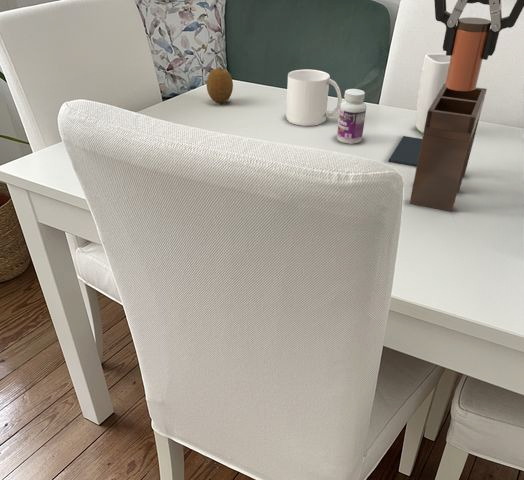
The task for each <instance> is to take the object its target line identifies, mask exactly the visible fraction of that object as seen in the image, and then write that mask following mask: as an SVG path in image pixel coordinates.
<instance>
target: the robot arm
mask: <svg viewBox="0 0 524 480" xmlns="http://www.w3.org/2000/svg"><path fill="white" fill-rule="evenodd" d="M478 3H479V4H482V5H486V6H489V14H490V21H491V27H490V30H489V32H488V37H487V41H486V45H485V49H484V54H483V58H482V59H483V60H484V61H488V59H489V57H492V56H493V55H494V53H495V51H496V47H497V44H498V40H499V36H500V32H501V31H503V30H505V29H508V28H509V29H512V28H513V27H514V26H515V24H516V22H517V21H518V19H519V17H520V15H521V13H522V12H523V9H524V0H516V1H515V3H514V5H513V8H512V9H511V11H510V13H509V15H508V16H504V17H503V15H502V14H503V13H502V0H457V1H456V3H455V4H454V7H453V9H452V11H451V12H449V11H447V0H434V17H435V20H436V21H437V22H440V23H442V24H444V26H445V33H444V38H443V43H442V51H443V52H445V53H446V55H447V56H451V53H452V49H453V44H454V39H455V34H456V29H457V22H458V19H460V18H461V15H462V13H463V12H464V10H465V8H466V7H467V4H478Z"/></svg>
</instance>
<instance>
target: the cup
mask: <svg viewBox="0 0 524 480" xmlns="http://www.w3.org/2000/svg"><path fill="white" fill-rule="evenodd" d="M450 58H451V56H447V55H446V52H441V53H440V52H434V53H433V52H432V53H431V52H430V53H426V54H425V55H424V58H423V63H422V69H421V72H420V78H419V79H420V80H419V86H418V94H417V102H416V114H415V127H416V129H417V130H418V131H419V132H420V133H421V134H422V135H423V133H424V128H425V123H426V118H427V113H428V110H429V108H430V106H431V105H432V103H433V101H434V100H435V98H436V96H437V95H438V93H439V91H440V90H441V88H442V86H443V85H444V83H446V78H447V73H448V68H449V63H450Z"/></svg>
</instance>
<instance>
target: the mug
mask: <svg viewBox="0 0 524 480" xmlns="http://www.w3.org/2000/svg"><path fill="white" fill-rule="evenodd" d="M330 85H331V86H333V88H334V89H335V92H336V97H337V104H336V107H335V108H334V109H333V110H328V102H329V89H330ZM342 102H343V98H342V92H341V89H340V87H339V85H338V83H337V82H336V81H335V80H333V79H331V77H330V74H329V73H328V72H326V71H323V70H319V69H318V70H317V69H307V68H306V69H295V70H292V71H289V72H288V73H287V88H286V109H285V110H286V113H285V118H286V120H287V121H288V122H289V123H290V124H293V125H296V126H301V127H314V126H319V125H322V124H323V123H325V121H326V120H327V116H334V115H335V114H337V112H339V111H340V105H341V103H342Z"/></svg>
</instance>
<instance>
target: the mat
mask: <svg viewBox="0 0 524 480" xmlns="http://www.w3.org/2000/svg"><path fill="white" fill-rule="evenodd" d="M421 143H422V138H419V137H412V136H406V135H403V136H402V138H401V139H400V141H399V142H398V144H397V146H396V147H395V149H394V151H392V153H391V155H390V157H389V158H388V163H394V164H400V165H405V166H406V165H407V166H412V167H417V163H418V158H419V153H420V148H421Z"/></svg>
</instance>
